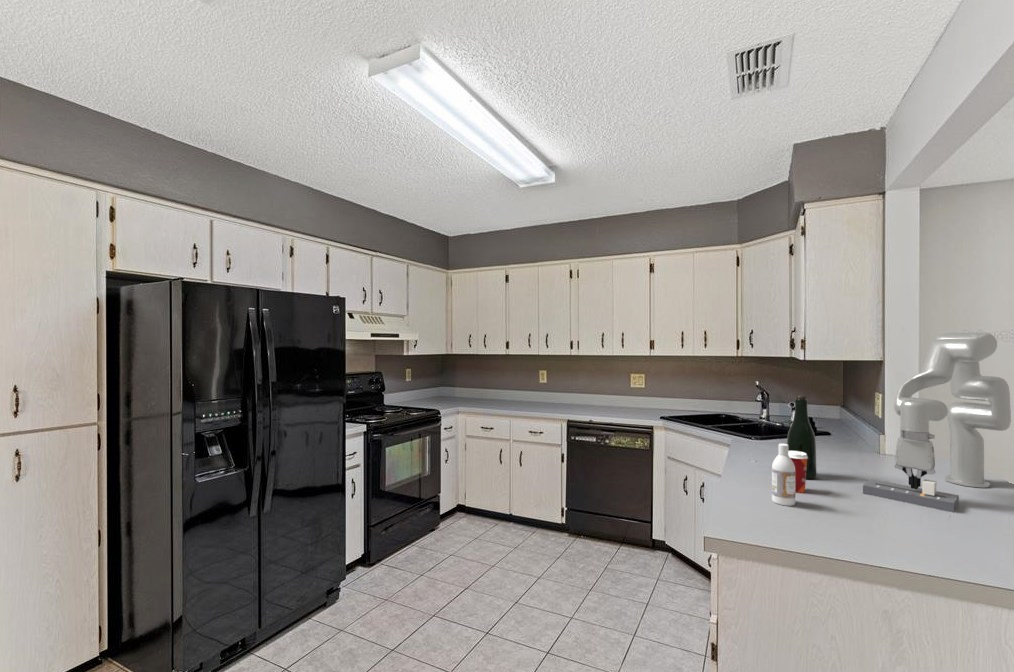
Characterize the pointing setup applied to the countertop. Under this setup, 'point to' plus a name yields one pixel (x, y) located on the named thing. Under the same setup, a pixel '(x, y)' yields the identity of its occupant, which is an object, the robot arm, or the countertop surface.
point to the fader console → (911, 495)
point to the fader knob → (929, 487)
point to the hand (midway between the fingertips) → (914, 487)
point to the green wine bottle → (803, 436)
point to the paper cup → (799, 469)
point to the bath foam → (783, 478)
